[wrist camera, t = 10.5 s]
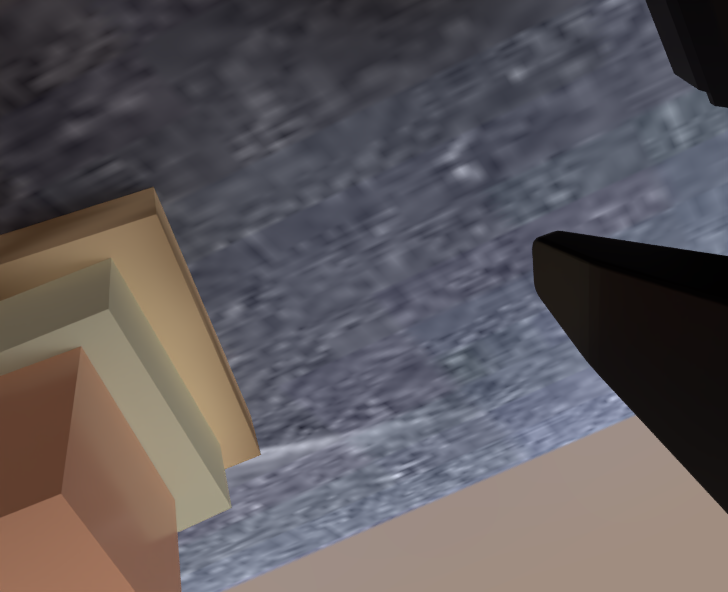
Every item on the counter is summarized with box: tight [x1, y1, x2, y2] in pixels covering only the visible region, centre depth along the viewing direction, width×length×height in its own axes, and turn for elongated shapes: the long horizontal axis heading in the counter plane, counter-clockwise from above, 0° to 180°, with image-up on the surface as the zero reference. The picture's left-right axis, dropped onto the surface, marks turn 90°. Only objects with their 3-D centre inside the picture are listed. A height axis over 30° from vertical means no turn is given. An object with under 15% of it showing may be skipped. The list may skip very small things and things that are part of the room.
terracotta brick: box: [0, 347, 181, 592], centre depth 15 cm, size 4×6×5 cm
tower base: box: [0, 187, 261, 469], centre depth 21 cm, size 10×10×3 cm
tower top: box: [0, 258, 232, 532], centre depth 18 cm, size 8×8×3 cm
